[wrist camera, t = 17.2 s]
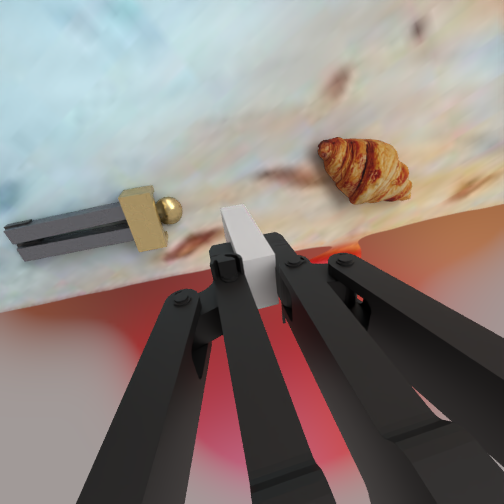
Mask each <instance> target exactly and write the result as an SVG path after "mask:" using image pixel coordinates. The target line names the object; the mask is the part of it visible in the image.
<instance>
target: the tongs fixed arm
mask: <svg viewBox="0 0 504 504" xmlns="http://www.w3.org/2000/svg"><path fill="white" fill-rule="evenodd" d="M156 208H157V211H158V214H159V217H160V220H161V222H162V223H164V224H174V223H176V222H178V221H179V220H180V218H181V216H182V206H181V204H180V203H179V202H178V201H177V200H176V199H174V198H171V197H164V198H161V199H160V200H158V202H157V203H156ZM133 240H134V238H133V235H132V233H131V230H130V228H129V225H128V223H126V224H120V225H115V226H109V227H104V228H99V229H93V230H88V231H82V232H77V233H72V234H66V235H61V236H55V237H50V238H45V239H44V238H40V239H36V240H31V241H27V242H22V243H18V244H17V246H18V248H17V251H18V252H19V254H20V255H21V257H22V258H23V260H24V261H31V260H36V259H41V258H46V257H51V256H56V255H61V254H66V253H72V252H77V251H82V250H87V249H92V248H97V247H102V246H107V245H113V244H118V243H123V242H128V241H133Z"/></svg>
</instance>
